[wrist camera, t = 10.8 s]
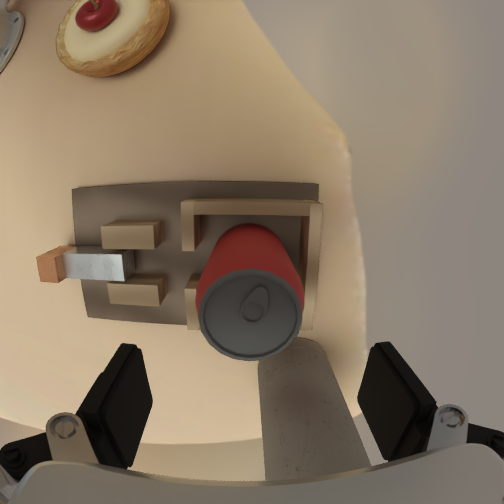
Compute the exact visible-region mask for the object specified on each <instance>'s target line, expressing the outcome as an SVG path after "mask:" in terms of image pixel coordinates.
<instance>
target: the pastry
mask: <svg viewBox="0 0 504 504" xmlns="http://www.w3.org/2000/svg"><path fill="white" fill-rule="evenodd" d="M169 16H170V8H169V1H168V0H77V2H76V3H75V4H74V6H72V7H71V8H70V9H69V10H68V11H67V13H66V15H65V17H64V19H63V21H62V22H61V23H60V26H59V30H58V34H57V37H56V51H57V55H58V57H59V59H60V61H61V62H62V63H63V64H64V65H65V66H66V67H67V68H68V69H70V70H72V71H74V72H76V73H79V74H83V75H87V76H93V77H98V76H100V77H102V76H110V75H114V74H118V73H120V72H123V71H126V70H127V69H129V68H131V67H133V66H134V65H136V64H137V63H139V62H140V61H142V60H143V59H144V58H145V57H146V56H147V55H148V54H149V53H150V52H151V51H152V50H153V49H154V48H155V47H156V46H157V44H158V43H159V42H160V40H161V38H162V37H163V35H164V33H165V31H166V28H167V25H168V21H169Z"/></svg>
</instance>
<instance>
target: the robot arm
mask: <svg viewBox="0 0 504 504" xmlns="http://www.w3.org/2000/svg"><path fill="white" fill-rule="evenodd" d="M9 1H10V0H0V72H1V71H2V70H3V68H4V67H5V66H6V64H7V63H8V61H9V60H10V58H11V56H12V54H13V53H14V51H15V49H16V47H17V45H18V42H19V40H20V37H21V35H22V31H23V27H24V18H23V16H22V14H20V13H19V12H17V11H10V12H7V10H8V7H7V5H8V3H9ZM357 399H358V404H359V406H360V408H361V410H362V412H363V414H364V417H365V419H366V421H367V423H368V425H369V427H370V430H371V432H372V434H373V436H374V438H375V441H376V443H377V445H378V447H379V450H380V452H381V454H382V457H383V458H384V459H385V460H388V462H387V463H383V464H379V465H375V466H371V467H366V468H362V469H357V470H352V471H347V472H341V473H336V474H329V475H323V476H315V477H307V478H298V479H286V480H270V481H214V480H199V479H187V478H178V477H170V476H163V475H156V474H149V473H143V472H137V471H132V470H127V468H128V467H131V466H132V465H133V462H134V459H135V456H136V452H137V449H138V446H139V443H140V440H141V437H142V434H143V431H144V428H145V425H146V422H147V419H148V416H149V413H150V410H151V407H152V403H153V399H152V394H151V390H150V386H149V382H148V378H147V373H146V369H145V364H144V360H143V355H142V351H141V349H140V348H137V346H136V345H135V344H126V343H122V344H121V345H120V346H119V348H118V350H117V351H116V353H115V354H114V356H113V357H112V359H111V360H110V362H109V364H108V365H107V367H106V368H105V370H104V372H102V373H101V374H100V375H99V376H98V378H97V379H96V381H95V383H94V384H93V386H92V387H91V389H90V391H89V392H88V394H87V396H86V397H85V399H84V401H83V402H82V404H81V406H80V407H79V409H78V411H77V412H76V414H72V413H67V412H64V413H59V414H56V415H54V416H53V417H51V418H50V419H49V420H48V422H47V424H46V432H45V433H41V434H38V435H35V436H32V437H28V438H25V439H21V440H18V441H14V442H11V443H8V444H6V445H4V446H3V447H2V448H1V450H0V504H504V433H503V432H501V431H498V430H494V429H490V428H485V427H482V426H478V425H474V424H470V423H468V415H467V413H466V412H465V411H464V410H463V409H462V408H460V407H459V406H456V405H452V404H447V405H443V406H440V407H439V408H438V407H437V405H436V401H435V399H434V398H433V397H432V395H431V394H430V393H429V391H428V390H427V389H426V387H425V386H424V385H423V383H422V382H421V381H420V380H419V378H418V377H417V376H416V375H415V373H414V372H413V370H412V369H411V368H410V367H409V365H408V364H407V363H406V361H405V360H404V359H403V358H402V356H401V355H400V354H399V353H398V351H397V350H396V349H395V348H394V346H393V345H392V344H391V343H390V342H380V343H376V344H375V345H374V347H372V348H371V349H370V353H369V357H368V361H367V364H366V368H365V372H364V375H363V379H362V382H361V386H360V389H359V392H358V397H357Z"/></svg>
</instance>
